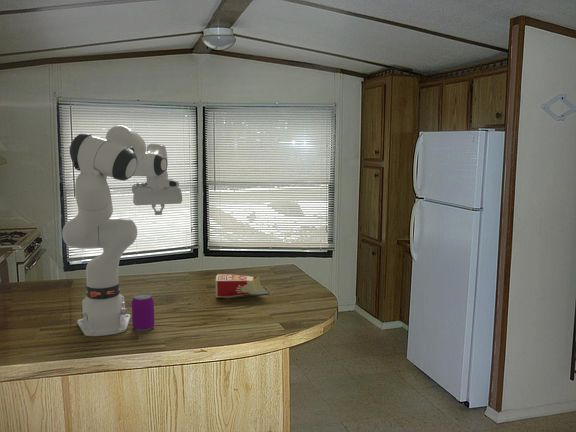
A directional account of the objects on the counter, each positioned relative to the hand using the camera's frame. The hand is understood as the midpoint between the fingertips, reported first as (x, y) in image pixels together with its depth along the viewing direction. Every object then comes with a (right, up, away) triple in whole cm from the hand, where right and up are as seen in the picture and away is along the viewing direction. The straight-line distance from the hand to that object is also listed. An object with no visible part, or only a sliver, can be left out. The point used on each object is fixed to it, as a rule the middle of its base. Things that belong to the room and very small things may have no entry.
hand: (158, 214), depth 223 cm
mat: (+35, -34, +12) cm, 50 cm away
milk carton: (+24, -30, +4) cm, 39 cm away
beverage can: (+3, -41, -33) cm, 53 cm away
